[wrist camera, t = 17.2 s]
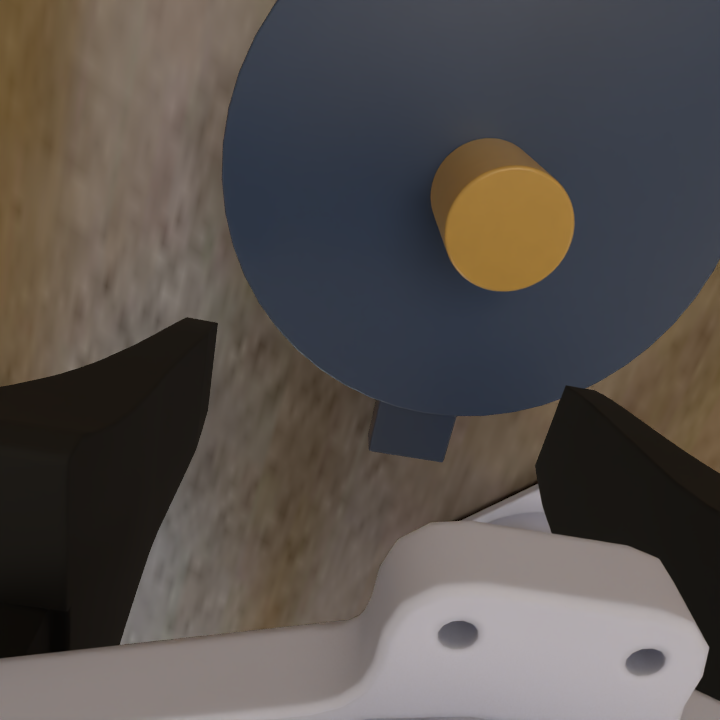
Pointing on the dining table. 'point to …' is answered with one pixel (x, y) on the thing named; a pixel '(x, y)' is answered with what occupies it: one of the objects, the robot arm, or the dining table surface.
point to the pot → (409, 432)
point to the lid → (476, 189)
